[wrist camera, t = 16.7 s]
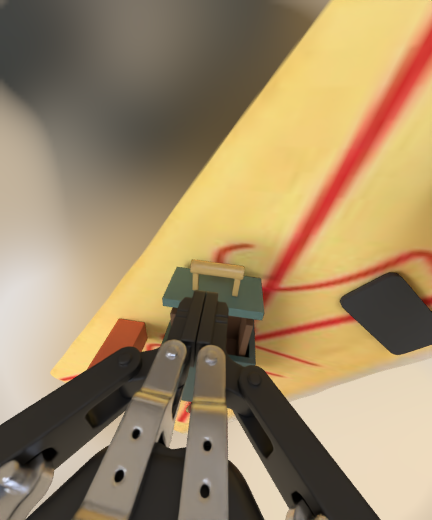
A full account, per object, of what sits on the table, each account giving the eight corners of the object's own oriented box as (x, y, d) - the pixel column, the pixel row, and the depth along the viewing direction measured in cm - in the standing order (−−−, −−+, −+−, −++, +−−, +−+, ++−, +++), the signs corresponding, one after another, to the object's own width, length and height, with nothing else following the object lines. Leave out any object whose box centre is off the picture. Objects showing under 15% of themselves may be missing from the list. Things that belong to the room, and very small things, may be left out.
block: (118, 318, 36) (86, 370, 29) (144, 322, 36) (118, 375, 29) (123, 334, 39) (94, 386, 32) (147, 338, 39) (124, 391, 31)
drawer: (175, 240, 25) (159, 269, 20) (268, 252, 24) (273, 285, 20) (178, 327, 34) (168, 361, 30) (245, 337, 34) (245, 374, 29)
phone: (398, 272, 24) (454, 337, 28) (394, 267, 24) (449, 332, 29) (337, 303, 27) (394, 356, 32) (335, 298, 28) (391, 351, 32)
